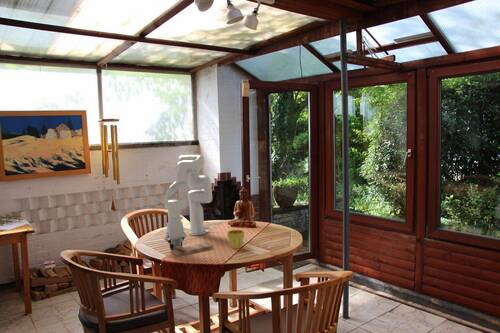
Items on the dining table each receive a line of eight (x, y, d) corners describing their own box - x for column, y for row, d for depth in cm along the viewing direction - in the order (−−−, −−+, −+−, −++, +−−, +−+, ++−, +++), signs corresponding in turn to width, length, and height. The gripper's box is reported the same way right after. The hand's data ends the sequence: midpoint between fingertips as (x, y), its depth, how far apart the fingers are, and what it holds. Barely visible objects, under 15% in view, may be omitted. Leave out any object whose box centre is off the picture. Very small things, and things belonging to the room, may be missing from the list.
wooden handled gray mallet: (178, 249, 254) (178, 238, 254) (188, 253, 244) (187, 242, 243) (171, 250, 251) (170, 239, 251) (180, 255, 241) (180, 243, 240)
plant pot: (238, 250, 247) (238, 234, 247) (224, 248, 253) (224, 232, 252) (247, 245, 256) (247, 230, 255) (234, 244, 262) (233, 229, 261)
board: (205, 245, 260) (205, 242, 260) (213, 248, 253) (212, 245, 253) (171, 253, 246) (171, 249, 246) (177, 256, 239) (177, 252, 239)
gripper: (184, 217, 258) (185, 245, 259) (159, 221, 248) (160, 250, 249) (190, 218, 252) (191, 247, 253) (164, 223, 241) (166, 253, 243)
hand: (176, 248), depth 251 cm, fingers closed on wooden handled gray mallet, 5 cm apart
